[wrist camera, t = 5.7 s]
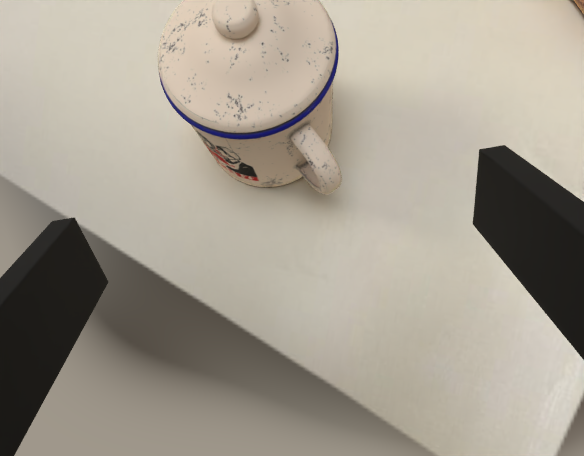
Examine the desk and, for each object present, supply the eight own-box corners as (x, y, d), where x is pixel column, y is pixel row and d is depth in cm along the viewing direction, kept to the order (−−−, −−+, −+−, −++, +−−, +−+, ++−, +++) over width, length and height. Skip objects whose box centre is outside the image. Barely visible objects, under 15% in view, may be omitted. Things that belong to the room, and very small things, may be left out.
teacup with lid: (183, 120, 29) (91, -6, 18) (285, 50, 30) (259, -115, 18) (278, 252, 26) (241, 203, 15) (388, 173, 27) (433, 68, 16)
